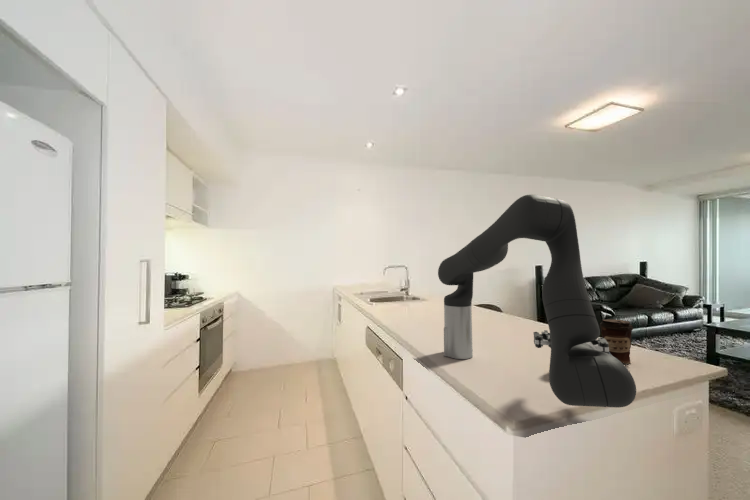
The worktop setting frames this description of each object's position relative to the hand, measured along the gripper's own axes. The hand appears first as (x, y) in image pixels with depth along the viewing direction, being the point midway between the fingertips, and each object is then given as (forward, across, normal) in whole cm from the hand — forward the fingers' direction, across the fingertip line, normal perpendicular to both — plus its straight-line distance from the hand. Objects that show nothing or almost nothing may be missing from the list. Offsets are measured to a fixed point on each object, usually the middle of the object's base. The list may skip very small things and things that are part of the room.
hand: (565, 335), depth 72 cm
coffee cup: (+32, -16, +13) cm, 38 cm away
